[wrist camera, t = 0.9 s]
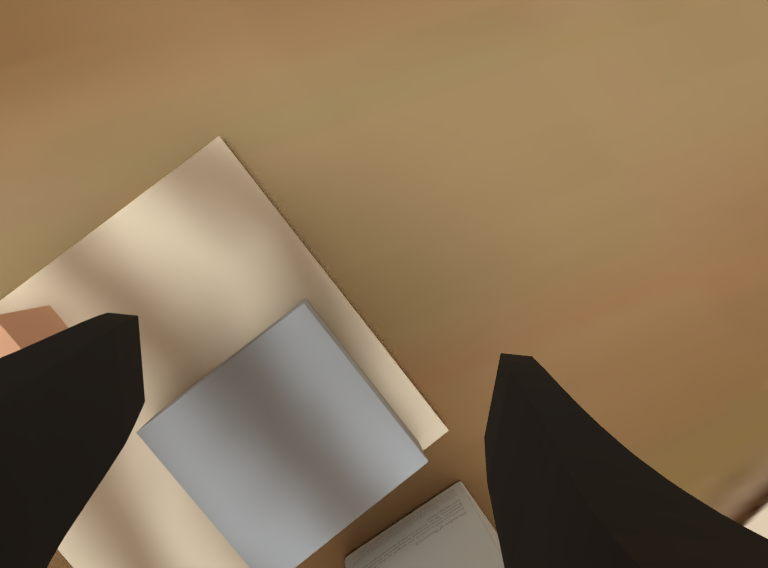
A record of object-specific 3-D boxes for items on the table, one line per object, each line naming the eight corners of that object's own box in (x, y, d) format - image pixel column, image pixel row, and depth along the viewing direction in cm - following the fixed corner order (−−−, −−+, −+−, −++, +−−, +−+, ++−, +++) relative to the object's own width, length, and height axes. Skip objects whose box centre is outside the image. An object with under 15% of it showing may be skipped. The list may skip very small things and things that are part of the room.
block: (33, 454, 29) (-27, 495, 25) (-39, 371, 29) (-115, 396, 24) (119, 388, 30) (77, 415, 25) (49, 305, 29) (-8, 315, 24)
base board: (161, 649, 31) (137, 706, 27) (-83, 369, 30) (-146, 387, 26) (444, 425, 32) (461, 449, 28) (222, 139, 31) (206, 122, 27)
